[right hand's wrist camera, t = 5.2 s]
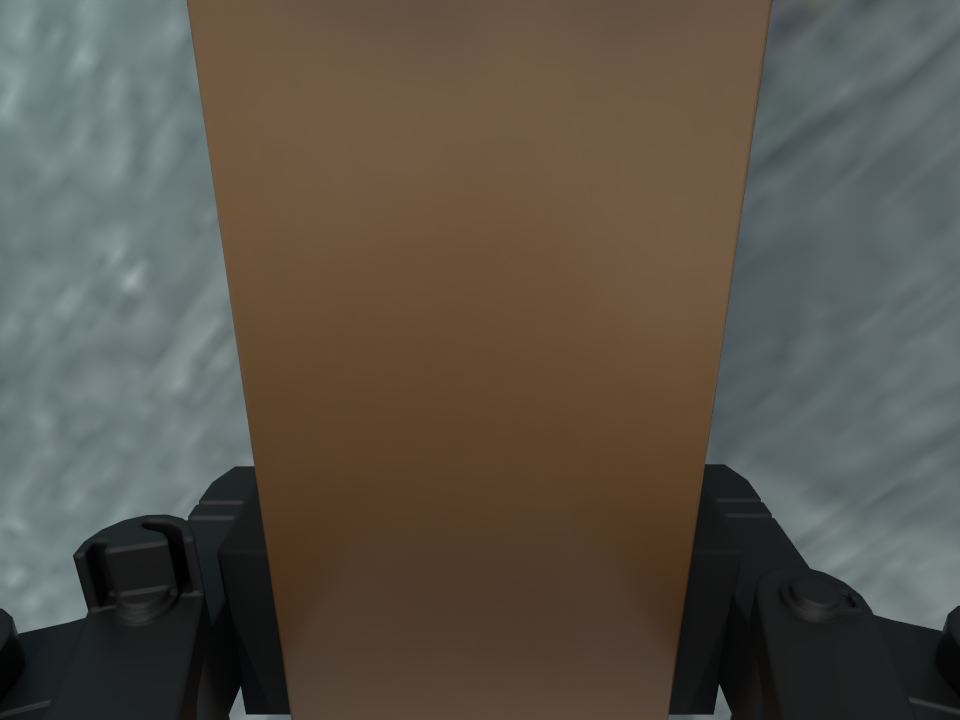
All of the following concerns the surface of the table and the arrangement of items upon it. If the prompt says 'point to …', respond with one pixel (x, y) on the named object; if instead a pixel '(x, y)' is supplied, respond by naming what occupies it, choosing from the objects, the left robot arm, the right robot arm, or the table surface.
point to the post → (479, 333)
